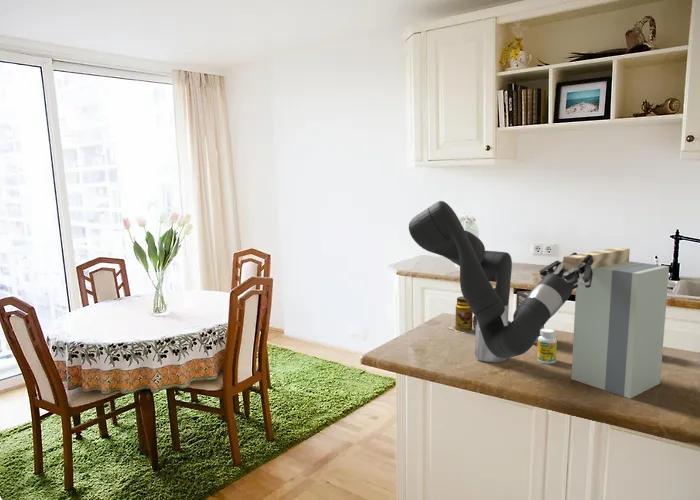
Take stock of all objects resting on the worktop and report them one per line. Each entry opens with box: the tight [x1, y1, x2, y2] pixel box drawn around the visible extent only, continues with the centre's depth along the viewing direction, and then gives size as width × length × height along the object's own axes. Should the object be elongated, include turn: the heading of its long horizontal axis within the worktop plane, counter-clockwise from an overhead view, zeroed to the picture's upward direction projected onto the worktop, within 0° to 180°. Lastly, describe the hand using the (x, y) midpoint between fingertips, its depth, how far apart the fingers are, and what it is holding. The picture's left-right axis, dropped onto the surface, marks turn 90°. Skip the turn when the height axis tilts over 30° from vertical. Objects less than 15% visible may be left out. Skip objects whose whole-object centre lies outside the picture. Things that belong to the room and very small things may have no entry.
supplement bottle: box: [536, 328, 558, 365], centre depth 158 cm, size 5×5×10 cm
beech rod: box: [562, 247, 631, 271], centre depth 138 cm, size 26×4×4 cm, turn 125°
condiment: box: [447, 296, 476, 334], centre depth 191 cm, size 7×8×12 cm
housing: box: [571, 260, 670, 399], centre depth 140 cm, size 16×16×32 cm
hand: (583, 256), depth 134 cm, fingers closed on beech rod, 3 cm apart
